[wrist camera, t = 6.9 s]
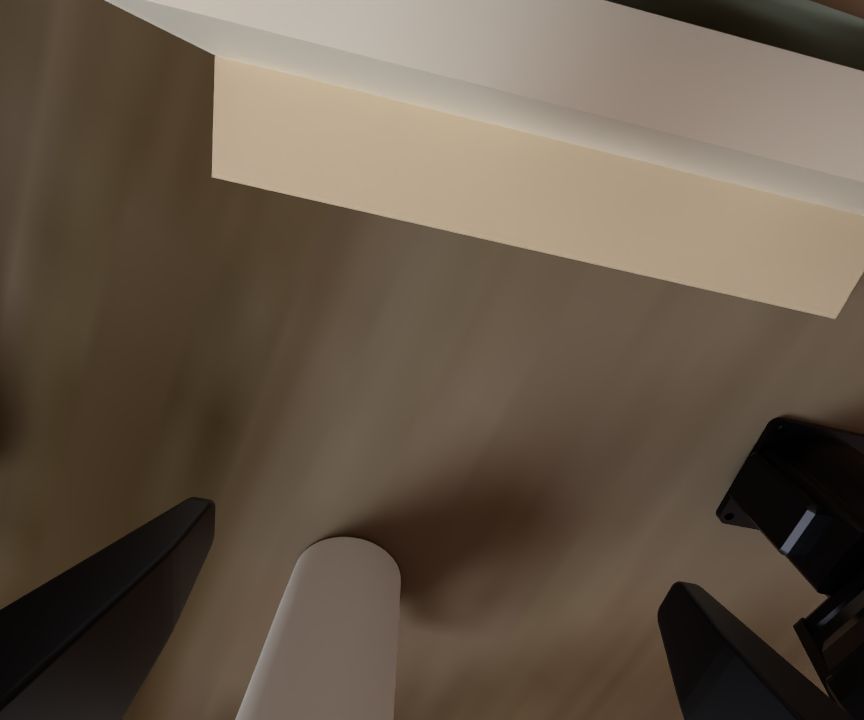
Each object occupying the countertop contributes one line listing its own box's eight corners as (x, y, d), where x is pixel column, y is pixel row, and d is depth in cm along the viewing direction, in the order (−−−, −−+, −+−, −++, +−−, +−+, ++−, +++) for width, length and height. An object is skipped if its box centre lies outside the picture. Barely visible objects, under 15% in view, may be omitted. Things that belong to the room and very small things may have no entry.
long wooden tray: (900, 168, 18) (1224, 170, 10) (817, 311, 20) (1036, 396, 13) (229, -5, 16) (50, -152, 9) (223, 176, 18) (78, 184, 11)
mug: (269, 551, 26) (145, 835, 15) (375, 516, 25) (326, 794, 14) (348, 659, 30) (295, 952, 19) (443, 633, 29) (448, 927, 18)
